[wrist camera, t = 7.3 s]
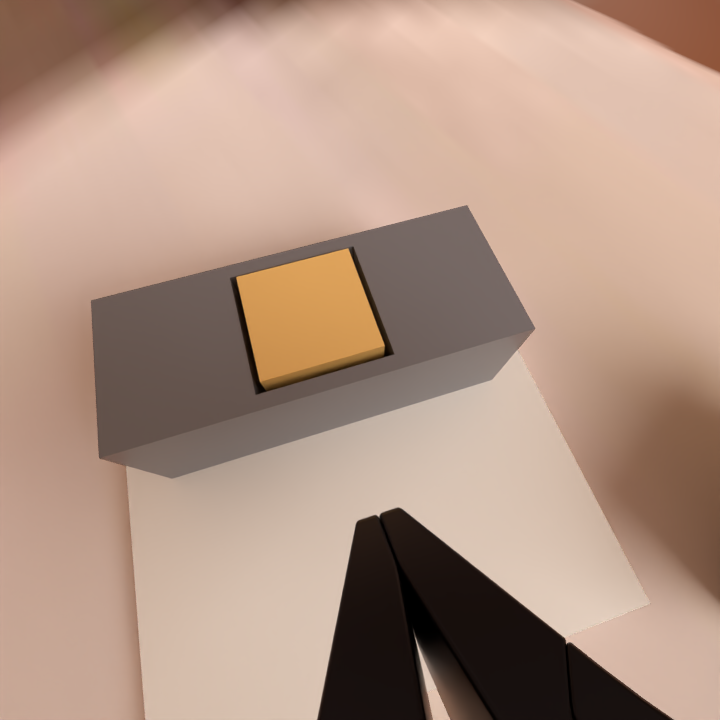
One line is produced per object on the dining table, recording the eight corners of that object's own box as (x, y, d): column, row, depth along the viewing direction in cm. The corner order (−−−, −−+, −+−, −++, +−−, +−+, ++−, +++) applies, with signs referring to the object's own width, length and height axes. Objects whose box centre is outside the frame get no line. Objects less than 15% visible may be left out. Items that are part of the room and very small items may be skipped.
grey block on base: (628, 598, 18) (781, 636, 11) (170, 777, 15) (30, 956, 9) (461, 267, 25) (496, 174, 18) (131, 357, 22) (38, 287, 16)
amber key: (381, 375, 17) (384, 345, 14) (277, 406, 17) (259, 381, 14) (350, 289, 19) (347, 248, 16) (255, 315, 18) (236, 277, 16)
